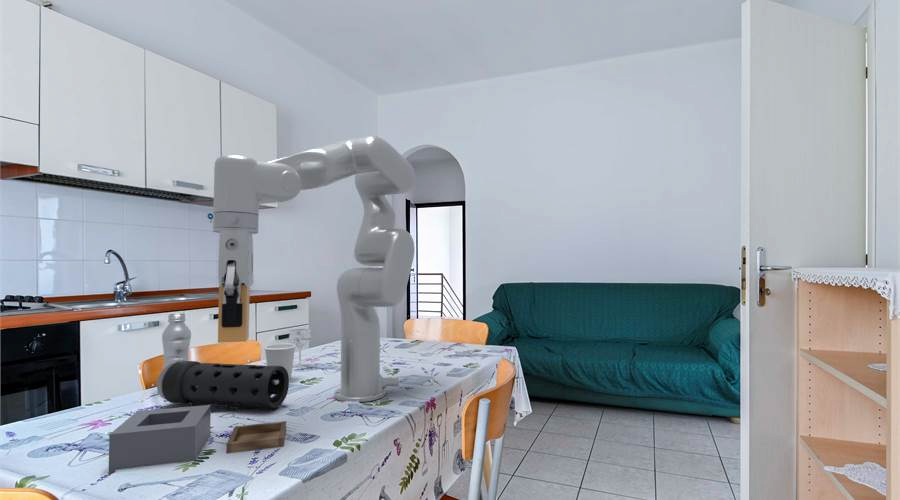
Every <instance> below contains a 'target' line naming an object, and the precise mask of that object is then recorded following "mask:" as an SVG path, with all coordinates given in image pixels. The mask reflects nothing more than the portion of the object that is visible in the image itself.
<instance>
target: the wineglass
mask: <svg viewBox="0 0 900 500" xmlns="http://www.w3.org/2000/svg"><path fill="white" fill-rule="evenodd" d="M311 330H312V329H310V328H295V329H290V330H288V332H289V335H288V341H289V343H290V344H295V345H296V347H297V349H298V360H299V361H298V365H297V366H295V367H296V368H303V367H304V365H301V364H302V362H301V361H302V349H303V347H305V346H307V345H308V344H309V342H311V339H312V334H311Z"/></svg>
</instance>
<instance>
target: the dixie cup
mask: <svg viewBox="0 0 900 500" xmlns="http://www.w3.org/2000/svg"><path fill="white" fill-rule="evenodd" d="M296 347H297V346H296V345H295V344H292V343H286V342H285V343H274V344H269V345H265V346H264V347H263V349H264V351H265V353H264V354H265V361H266V366H283V367H284V368H285V369H286V370H287V372H288V376H289V381H290V382H291V381H292V373H293V370H292V368H294V367H293V365H294V357H295V349H296ZM274 382H275V383H276V384H278V383H279V380H274Z"/></svg>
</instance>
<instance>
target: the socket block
mask: <svg viewBox="0 0 900 500" xmlns="http://www.w3.org/2000/svg"><path fill="white" fill-rule="evenodd" d="M211 408H212V405H203V406H183V407H182V406H181V407H180V406H179V407H170V408H160V409H148V410H138V411H136V412H134V413H133V414H132V415H131V416H130V417H129V418H127V419H126V420H125V421H124V422H123V423H121V424H120V425H119V426H118V427H116V428H115V429H114V430H113V431H111V432H110V433H109V435H108V440H109V441H108V474H114V473H115V472H116V470H124V469H132V468H134V469H135V468H141V467H142V468H143V467H150V466H159V465H166V464H175V463H184V462H192V461H193V462H194V461H196V459H197V457H198V456H199V455H200V453H201V451H202V449H203V447H204V446H205V444H206V443H207V441H208V439H209V437H210V436H211V413H212V412H211Z"/></svg>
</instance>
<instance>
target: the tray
mask: <svg viewBox="0 0 900 500" xmlns="http://www.w3.org/2000/svg"><path fill="white" fill-rule="evenodd" d="M286 431H287V421H286V420H284V421H272V422H264V423H253V424H244V425H235V426H234V428H233V429H232V432H231V434H230V436H229V438H228V441H227V443H226V448H225V450H226V452H225V453H226V454H232V453H233V454H234V453H242V452H249V451H259V450H268V449H269V450H270V449H276V448H277V449H278V448H283V447H284V446H285V438H286Z"/></svg>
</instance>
